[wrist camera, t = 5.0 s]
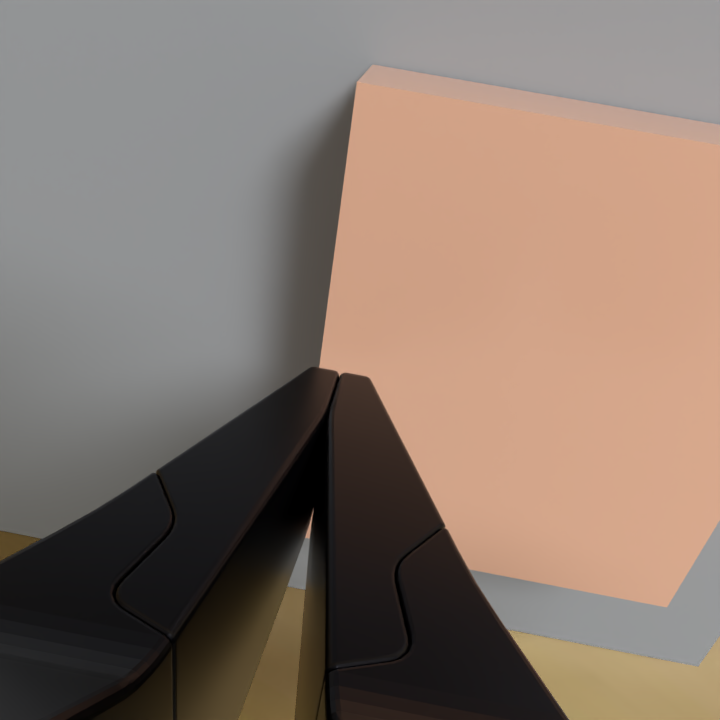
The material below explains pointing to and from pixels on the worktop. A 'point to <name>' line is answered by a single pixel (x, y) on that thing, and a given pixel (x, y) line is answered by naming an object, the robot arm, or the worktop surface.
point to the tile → (539, 322)
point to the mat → (257, 227)
